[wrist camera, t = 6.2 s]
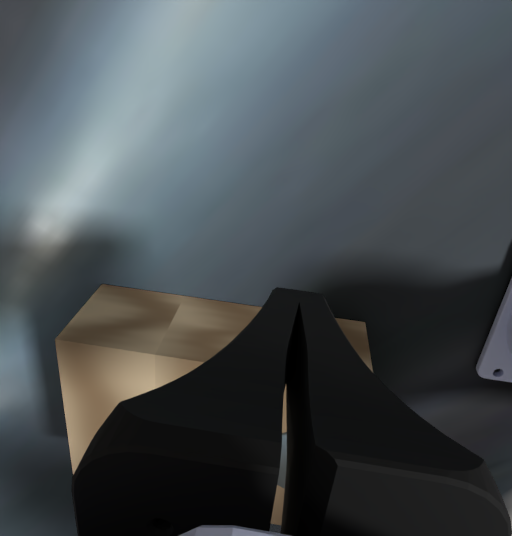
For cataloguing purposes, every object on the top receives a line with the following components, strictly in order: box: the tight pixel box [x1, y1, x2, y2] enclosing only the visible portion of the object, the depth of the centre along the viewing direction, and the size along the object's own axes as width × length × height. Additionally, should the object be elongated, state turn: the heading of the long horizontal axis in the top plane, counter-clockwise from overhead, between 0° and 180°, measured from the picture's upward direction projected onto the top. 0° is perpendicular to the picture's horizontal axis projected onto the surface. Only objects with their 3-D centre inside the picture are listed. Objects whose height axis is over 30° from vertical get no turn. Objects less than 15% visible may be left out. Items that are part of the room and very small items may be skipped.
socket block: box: [55, 284, 373, 525], centre depth 24 cm, size 14×10×5 cm
